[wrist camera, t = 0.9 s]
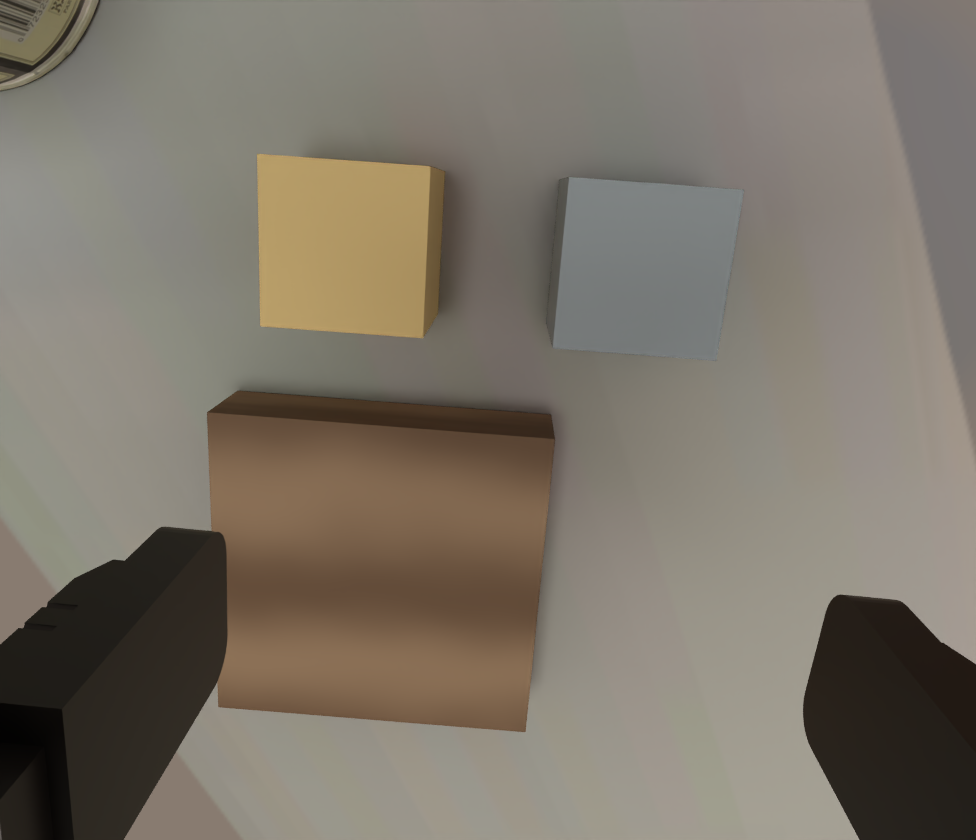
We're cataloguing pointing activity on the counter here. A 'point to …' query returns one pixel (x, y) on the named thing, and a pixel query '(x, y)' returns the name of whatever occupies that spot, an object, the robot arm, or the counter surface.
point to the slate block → (641, 267)
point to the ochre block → (349, 245)
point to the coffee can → (38, 36)
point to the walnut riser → (380, 557)
